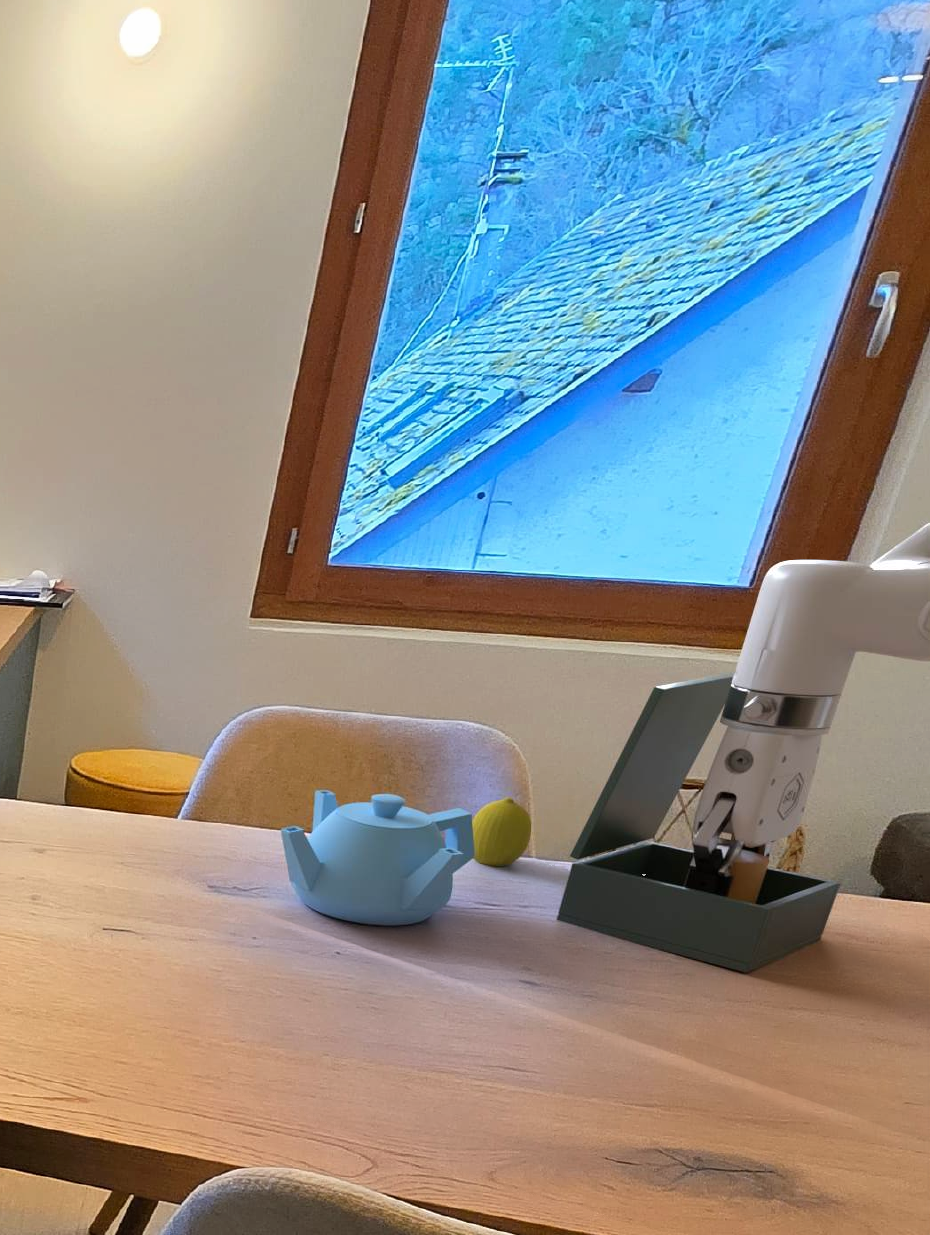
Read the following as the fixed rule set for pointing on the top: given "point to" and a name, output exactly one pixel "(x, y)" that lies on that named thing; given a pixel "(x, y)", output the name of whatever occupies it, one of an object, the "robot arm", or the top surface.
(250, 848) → the top surface
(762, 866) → the orange cylinder
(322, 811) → the teapot
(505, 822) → the lemon
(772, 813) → the robot arm
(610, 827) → the lid
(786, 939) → the grey hinged box
